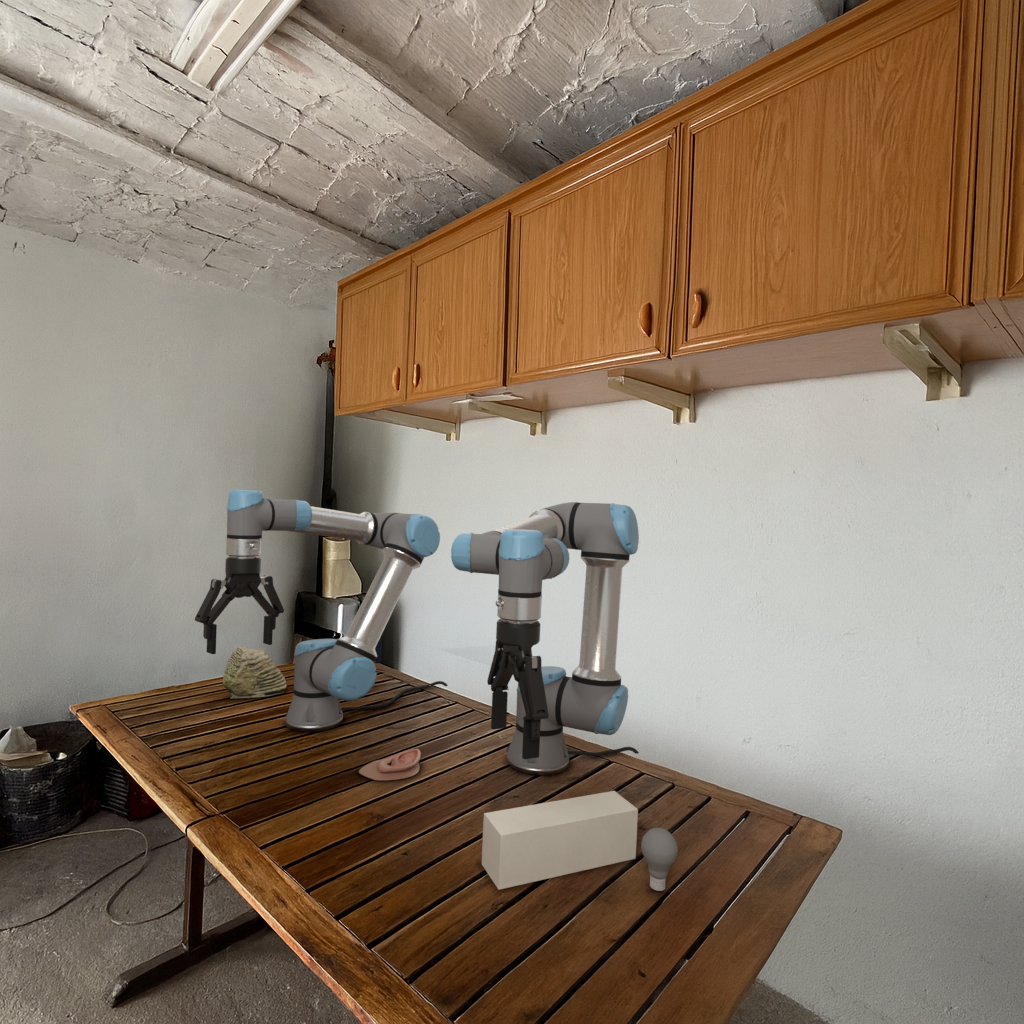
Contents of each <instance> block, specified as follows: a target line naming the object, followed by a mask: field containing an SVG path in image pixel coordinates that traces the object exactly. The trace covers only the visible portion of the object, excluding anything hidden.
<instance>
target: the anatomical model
mask: <svg viewBox="0 0 1024 1024" xmlns="http://www.w3.org/2000/svg"><path fill="white" fill-rule="evenodd" d="M421 756H422V754H421V750H420V749H419V748H412V749H408V750H404V751H402V752H398V753H396V754H393V755H391V756H388V757H384V758H382V759H377V760H373V761H371V762H369V763H367V764H365V765H363V766H362V767H361V768H360V769H359V770H358V773H359V774H360V775H361V776H363V777H366V778H368V779H371V780H373V781H379V782H380V781H381V782H382V781H397V780H403V779H407V778H410V777H413V776H415V775H417V774H418V773H419V771H420V768H421V766H420V763H419V762H420V760H421Z"/></svg>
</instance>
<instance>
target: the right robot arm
mask: <svg viewBox="0 0 1024 1024" xmlns="http://www.w3.org/2000/svg"><path fill="white" fill-rule="evenodd" d="M639 534H640V533H639V524H638V519H637V516H636V512H634V510H633V508H632V507H631V506H629V505H626V504H619V503H615V502H614V503H611V502H610V503H607V502H606V503H605V502H604V503H602V502H601V503H600V502H598V503H597V502H578V501H570V502H563V503H558V504H554V505H551V506H547V507H544V508H541V509H537V510H535V511H534V512H532V513H531V514H530V515H529V516H528V518H524V519H522V520H519V521H516V522H512V523H511V524H507V525H504V526H501V527H498V528H496V529H495V528H494V529H493V530H490V531H487V532H483V533H474V532H469V533H460V534H457V535H456V537H455V538H454V539H453V542H452V544H451V549H450V555H451V556H450V557H451V563H452V565H453V567H454V568H455V569H456V570H457V571H461V572H467V573H470V574H473V573H475V574H484V575H497V576H498V589H497V593H498V594H497V600H496V601H495V606H496V607H497V611H496V612H497V614H496V616H497V617H498V618H499V619H497V621H496V628H495V629H496V631H495V648H494V654H493V657H492V661H491V665H490V669H489V672H488V677H487V682H486V683H487V685H488V686H490V690H491V692H492V694H491V697H492V698H491V719H490V720H491V721H490V729H491V730H500V729H507V722H508V721H507V720H508V718H507V717H508V695H509V692H507V691H509V690H510V689H509V683H510V681H511V679H512V677H513V679H514V681H516V682H517V688H516V711H515V713H516V714H515V715H516V717H515V731H514V733H513V736H512V739H511V742H510V744H509V745H508V746H507V747H506V763H507V765H508V767H510V768H512V769H513V770H514V771H517V772H520V773H523V774H527V775H532V776H552V775H557V774H560V773H562V772H565V771H566V770H567V769H568V768H569V766H570V756H569V755H573V756H574V755H575V756H588V757H602V756H605V755H612V754H618V753H622V752H627V751H630V752H632V753H634V754H636V755H637V754H639V753H640V752H639V751H638V749H636V748H634V747H632V746H624V747H620V748H616V749H615V748H614V749H607V750H603V751H595V752H593V751H585V750H584V751H583V750H568V747H567V743H566V739H565V736H564V728H569V729H574V730H579V731H584V732H588V733H594V734H595V735H598V734H600V735H605V736H612V735H614V734H616V733H617V732H618V731H619V729H620V727H621V726H622V724H623V721H624V719H625V715H626V711H627V707H628V702H629V700H628V699H629V689H628V687H627V686H625V685H624V684H622V675H621V674H620V673H619V672H618V670H617V669H616V665H617V651H618V638H619V637H618V635H619V624H620V609H621V594H622V581H623V579H622V578H623V569H624V567H625V566H627V564H628V563H629V562H630V558H631V557H630V555H631V556H632V555H634V554H636V553H637V552H638V549H639V544H640V543H639V542H640V541H639V540H640V539H639V538H640V537H639V536H640V535H639ZM569 550H575V551H580V559H581V560H582V561H583V562H584V564H585V565H586V566H585V579H584V593H583V609H582V610H583V611H582V621H581V636H580V649H579V662H578V663H579V664H578V666H576V668H574V669H572V673H571V676H567V671H566V669H565V668H564V667H560V666H555V665H554V666H552V665H551V666H550V665H549V666H542V656H541V655H533V652H532V651H533V650H532V648H533V647H534V646H536V645H538V644H539V643H540V642H541V641H540V640H541V623H540V621H539V620H540V619H541V618H542V603H543V602H542V600H543V595H542V594H543V593H542V591H543V590H542V589H543V581H545V580H552V579H555V578H556V577H558V576H560V575H561V574H563V573H564V572H565V571H566V570H567V568H568V566H569V563H570V552H569Z"/></svg>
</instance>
